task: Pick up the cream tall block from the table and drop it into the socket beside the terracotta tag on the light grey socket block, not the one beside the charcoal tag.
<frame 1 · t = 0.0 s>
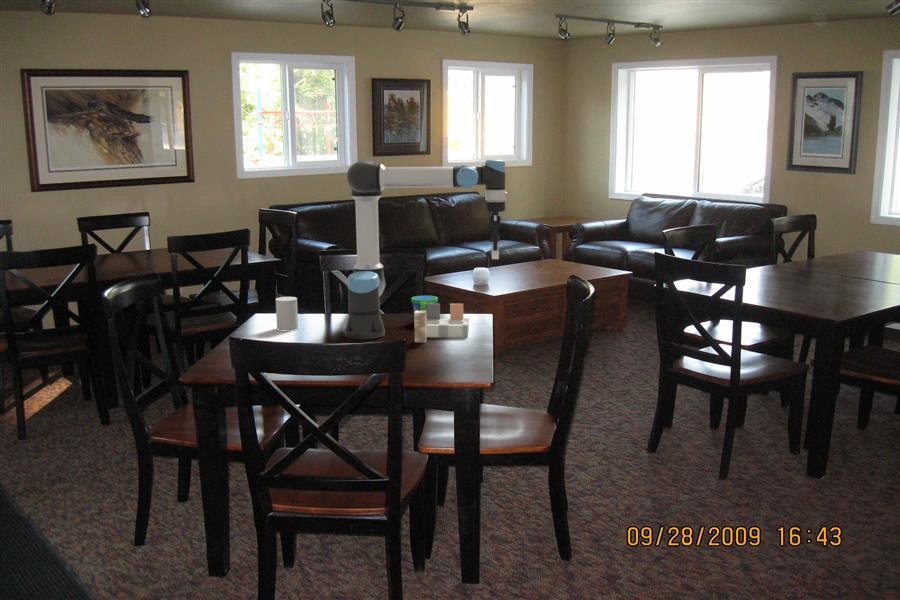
hand: (495, 256, 323), 28 cm above the table, tool pointing down, fingers open, 13 cm apart
cream tall block: (420, 341, 308), on the table
snack cup: (425, 322, 339), on the table
white cylinder: (287, 329, 330), on the table
socket block: (444, 333, 320), on the table
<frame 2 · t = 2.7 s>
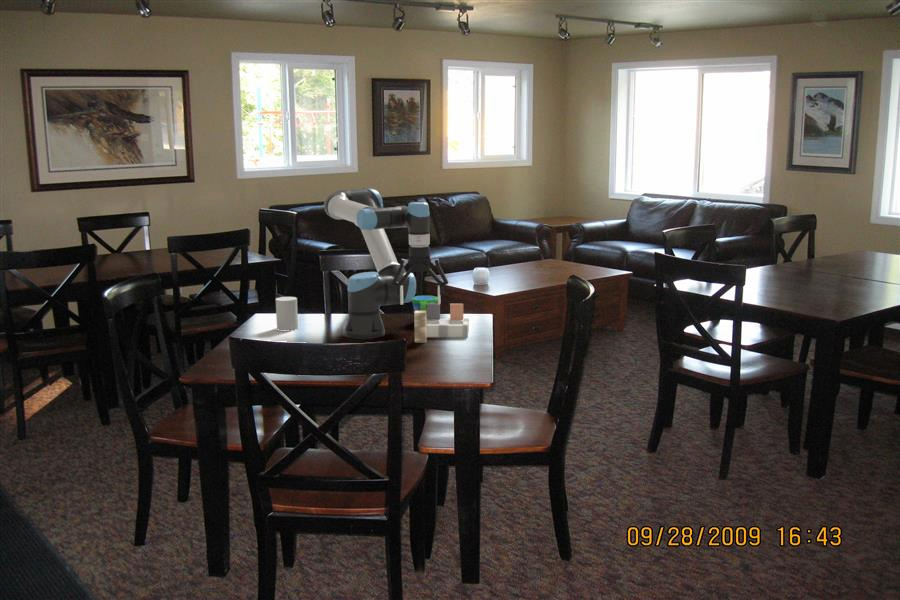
hand: (420, 304, 305), 14 cm above the table, tool pointing down, fingers open, 13 cm apart
nothing on the table moved.
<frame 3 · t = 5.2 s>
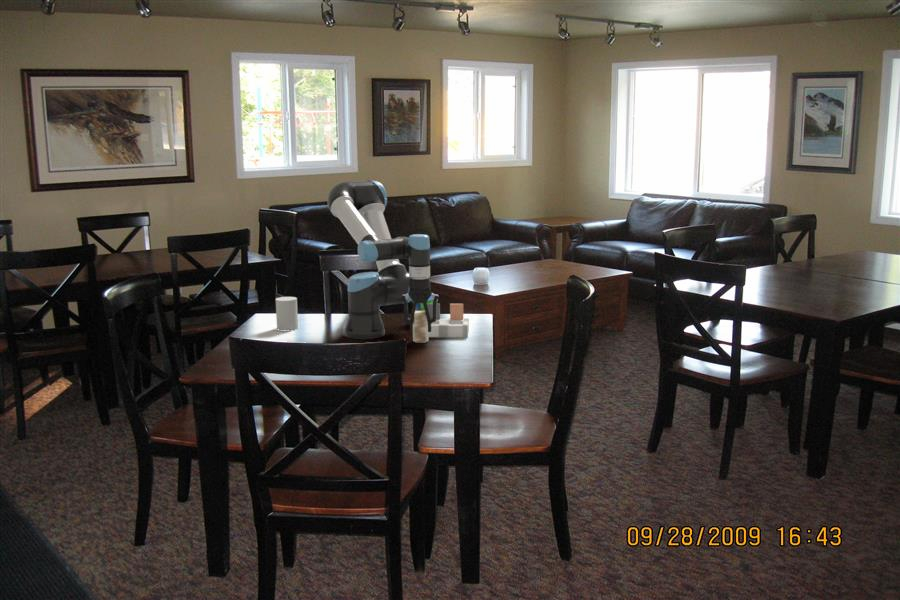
hand: (420, 340, 308), 0 cm above the table, tool pointing down, fingers closed on cream tall block, 4 cm apart
cream tall block: (420, 341, 308), on the table, touching gripper
everything else where it was.
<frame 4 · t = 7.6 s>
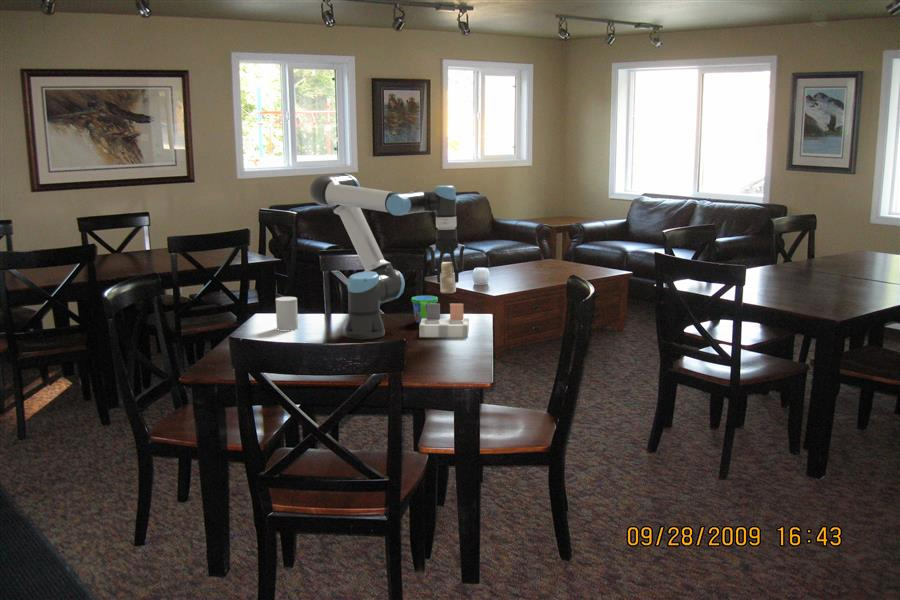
hand: (448, 291, 311), 17 cm above the table, tool pointing down, fingers closed on cream tall block, 4 cm apart
cream tall block: (448, 292, 312), point 17 cm above the table, touching gripper
everything else where it was.
when the fingers open (6 cm above the table, at t = 10.5 s): cream tall block drops 6 cm, resting in socket block.
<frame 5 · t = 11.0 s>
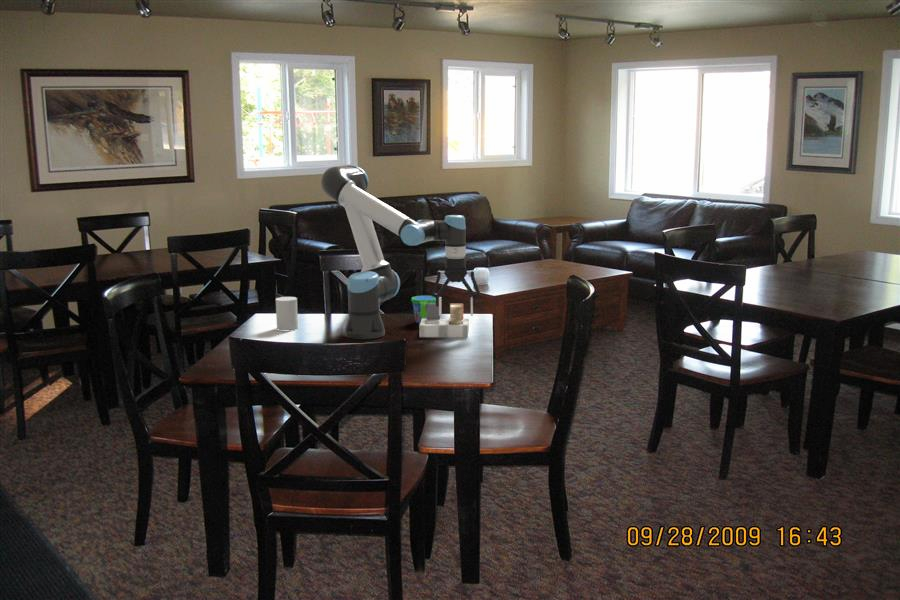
hand: (456, 314, 317), 8 cm above the table, tool pointing down, fingers open, 11 cm apart
cream tall block: (456, 334, 318), resting in socket block
everything else where it was.
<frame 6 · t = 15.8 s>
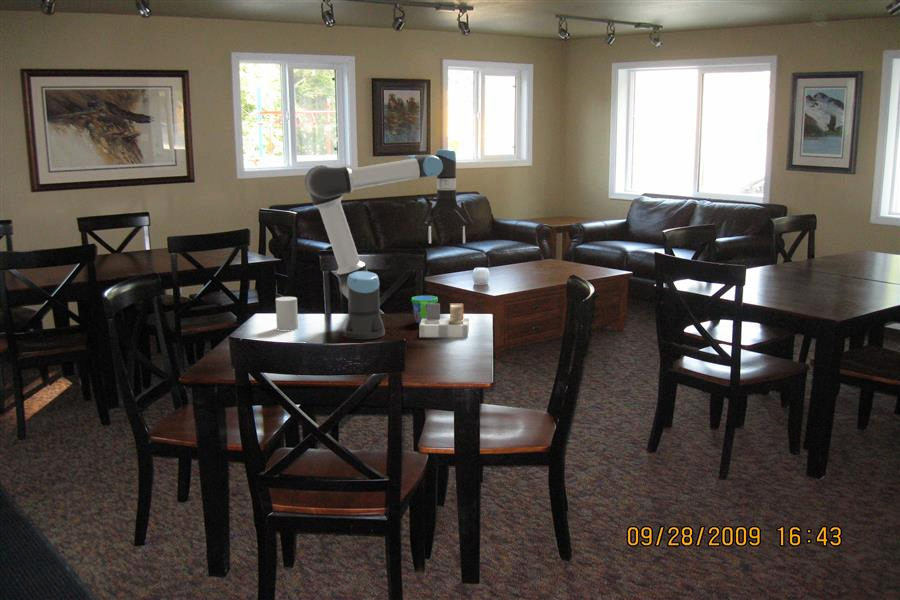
hand: (447, 243, 335), 32 cm above the table, tool pointing down, fingers open, 13 cm apart
nothing on the table moved.
at the end: cream tall block 0.0 cm from the target spot on the socket block, point 0.0 cm above the socket block's base; cream tall block tilted 0°; the gripper is holding nothing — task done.
